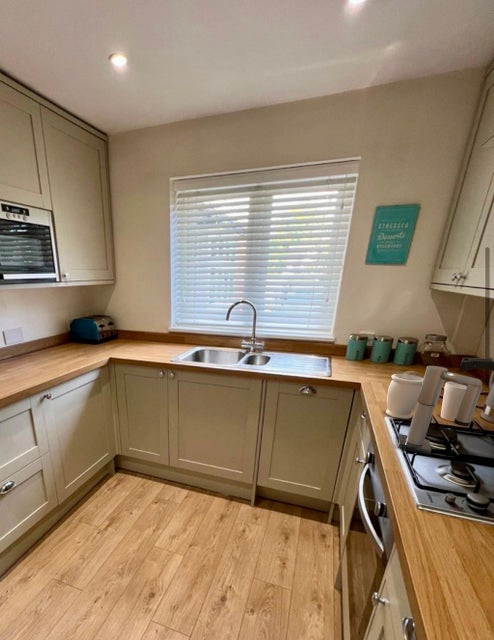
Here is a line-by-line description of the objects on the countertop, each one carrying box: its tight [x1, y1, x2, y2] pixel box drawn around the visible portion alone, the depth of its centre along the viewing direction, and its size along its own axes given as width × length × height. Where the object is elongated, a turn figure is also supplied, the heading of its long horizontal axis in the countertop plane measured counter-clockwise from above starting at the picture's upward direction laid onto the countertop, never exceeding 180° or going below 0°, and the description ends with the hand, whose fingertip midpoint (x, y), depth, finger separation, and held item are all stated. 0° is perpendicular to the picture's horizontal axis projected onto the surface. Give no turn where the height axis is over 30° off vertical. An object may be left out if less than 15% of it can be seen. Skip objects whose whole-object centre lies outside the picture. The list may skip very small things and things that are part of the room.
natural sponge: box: [402, 370, 423, 378], centre depth 151 cm, size 9×9×10 cm
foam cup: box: [440, 381, 467, 423], centre depth 122 cm, size 10×9×13 cm
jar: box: [385, 373, 424, 420], centre depth 123 cm, size 11×10×15 cm
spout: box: [417, 365, 483, 427], centre depth 92 cm, size 14×5×13 cm, turn 22°
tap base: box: [397, 402, 436, 456], centre depth 100 cm, size 8×8×14 cm
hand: (491, 372), depth 89 cm, fingers open, 13 cm apart
